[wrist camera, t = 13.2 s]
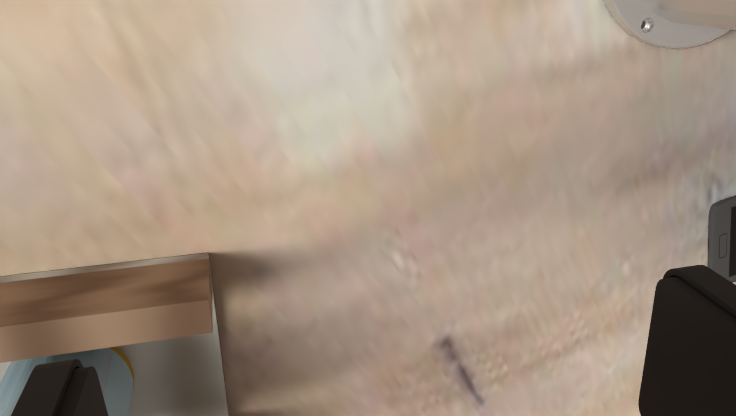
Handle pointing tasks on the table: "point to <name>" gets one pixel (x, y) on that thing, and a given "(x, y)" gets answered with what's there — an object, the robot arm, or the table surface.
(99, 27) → the table surface
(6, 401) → the bottle
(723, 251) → the cell phone
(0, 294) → the u rest
